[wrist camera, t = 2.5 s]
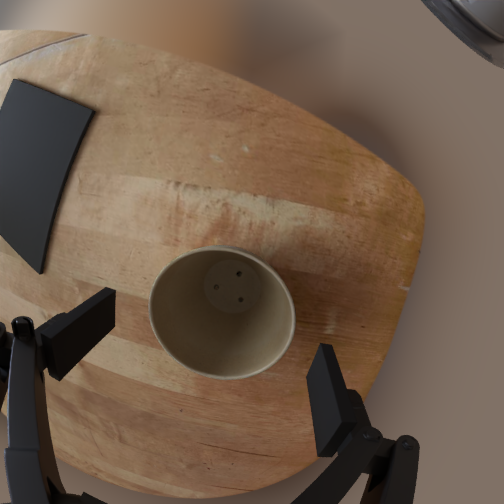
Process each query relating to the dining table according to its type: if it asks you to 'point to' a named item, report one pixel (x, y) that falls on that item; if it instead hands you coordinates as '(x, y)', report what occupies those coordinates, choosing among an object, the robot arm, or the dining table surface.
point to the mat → (35, 164)
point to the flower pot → (222, 312)
